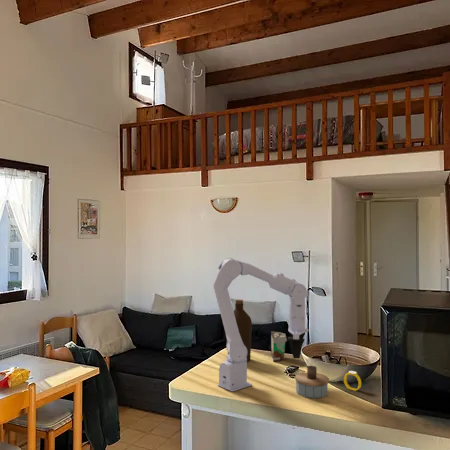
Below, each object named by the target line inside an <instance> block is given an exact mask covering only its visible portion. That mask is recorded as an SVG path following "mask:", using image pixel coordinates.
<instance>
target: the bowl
mask: <svg viewBox="0 0 450 450" xmlns="http://www.w3.org/2000/svg"><path fill="white" fill-rule="evenodd" d="M295 382H296V381H295ZM295 384H296V385H295V386H296V387H295V391H296V393H297V394H298V395H300V396H301V397H304V398H308V399H309V398H310V399H322V398H325V397H327V395H328V391H329V389H328V384H329V383H328V384H326V385H323V386H307V385H302V384H300V383H298V382H296V383H295Z"/></svg>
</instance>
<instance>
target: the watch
mask: <svg viewBox="0 0 450 450" xmlns="http://www.w3.org/2000/svg"><path fill="white" fill-rule="evenodd" d="M348 376H354V377H355V378H356V379H357V382H358V386H357V387H356V388H355V387H351V386H350V384H349V383H348V381H347V379H348ZM343 384H344V385H345V387H346V388H347V389H348V390H352V391H354V392H356V391H358V390H359V389H361V387H362V379H361V377H360V376H359V374H358V372H357V371H354V370H349V371H348V372H347V373H345V375H344V377H343Z"/></svg>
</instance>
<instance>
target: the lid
mask: <svg viewBox="0 0 450 450" xmlns="http://www.w3.org/2000/svg"><path fill="white" fill-rule="evenodd" d="M306 369H307V371H306V372H301V373H298V374H295V378H294V380H295V382H298V383H300V384H302V385H307V386H323V385H326V384H329V382H330V379H329V378H328V376H327V375H324V374H322V373H317V366H315V365H308V366H307V367H306Z"/></svg>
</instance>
